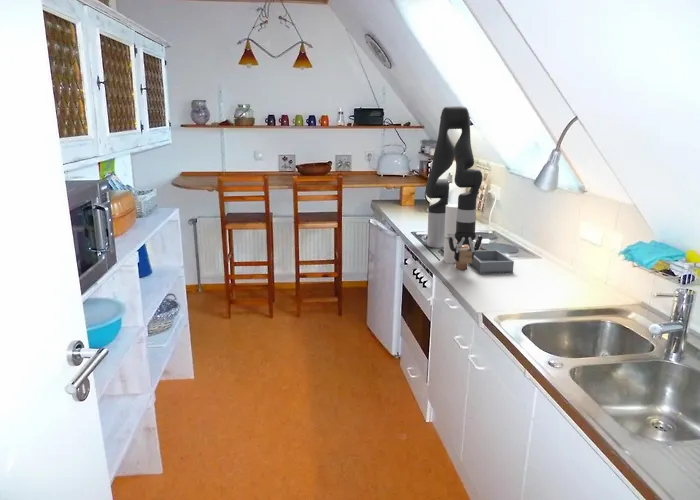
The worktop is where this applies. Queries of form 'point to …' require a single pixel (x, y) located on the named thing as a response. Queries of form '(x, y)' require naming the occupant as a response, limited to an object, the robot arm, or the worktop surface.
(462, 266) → the terracotta capsule
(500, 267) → the grey tote
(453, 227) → the cylindrical container
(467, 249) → the walnut cube
